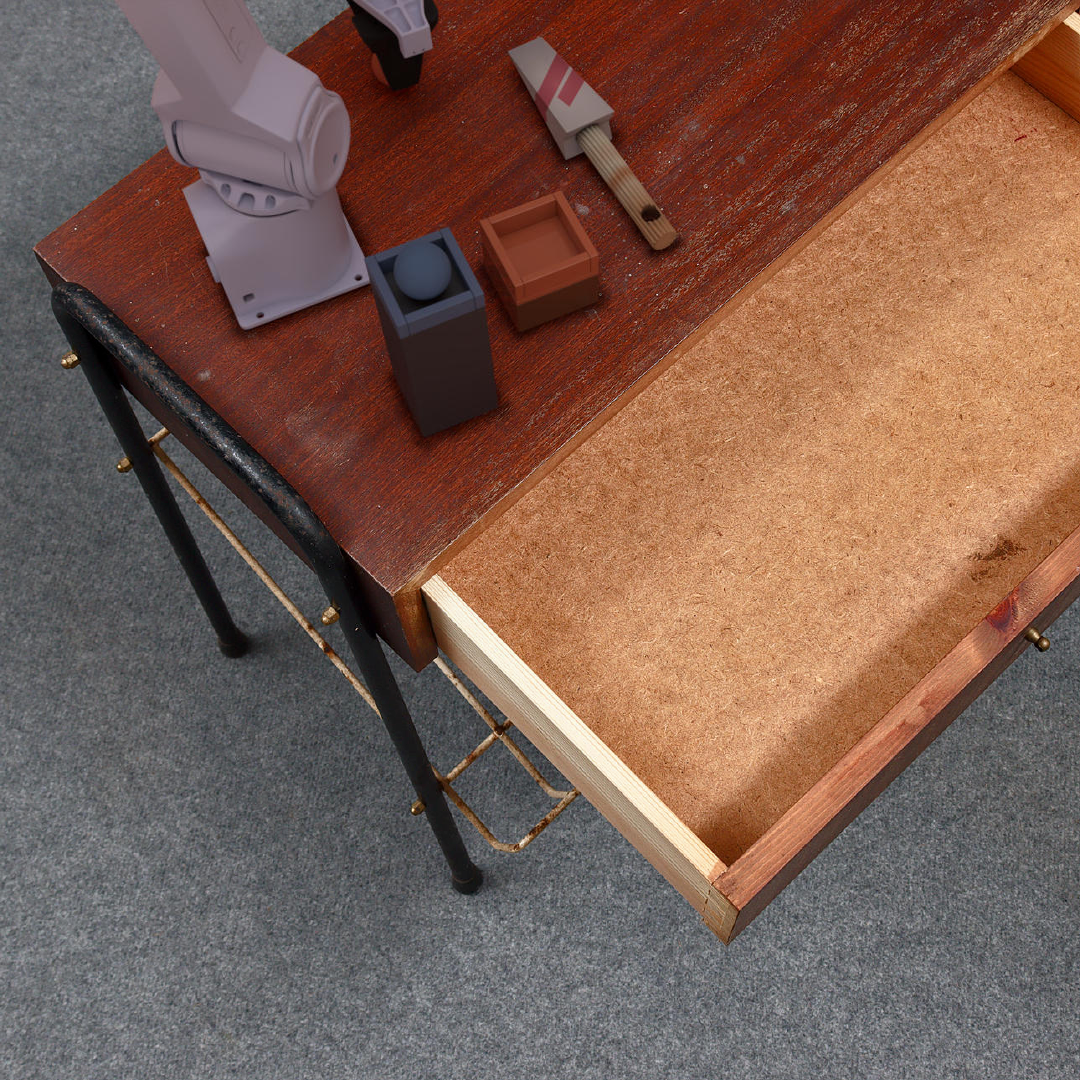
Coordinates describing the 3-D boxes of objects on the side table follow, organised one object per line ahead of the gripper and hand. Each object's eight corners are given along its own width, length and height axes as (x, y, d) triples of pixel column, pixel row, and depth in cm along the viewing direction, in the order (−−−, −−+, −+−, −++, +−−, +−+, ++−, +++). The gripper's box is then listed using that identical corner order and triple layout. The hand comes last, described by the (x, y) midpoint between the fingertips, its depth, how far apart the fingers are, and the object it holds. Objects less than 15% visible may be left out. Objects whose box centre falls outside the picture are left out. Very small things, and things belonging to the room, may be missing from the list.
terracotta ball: (384, 102, 93) (378, 68, 90) (369, 73, 94) (362, 39, 91) (425, 87, 93) (419, 54, 90) (409, 58, 94) (403, 24, 91)
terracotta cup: (519, 333, 84) (515, 287, 79) (484, 268, 86) (478, 220, 81) (598, 301, 84) (599, 254, 80) (562, 238, 87) (560, 189, 82)
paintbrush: (547, 18, 91) (690, 218, 84) (547, 46, 94) (686, 243, 87) (500, 37, 91) (640, 240, 84) (501, 66, 93) (637, 265, 86)
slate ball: (410, 319, 71) (402, 285, 68) (389, 277, 72) (381, 241, 69) (462, 299, 71) (457, 264, 69) (441, 258, 73) (435, 221, 70)
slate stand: (423, 438, 80) (397, 327, 69) (393, 375, 82) (363, 258, 71) (498, 408, 81) (484, 293, 70) (467, 346, 83) (448, 225, 72)
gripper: (467, -47, 78) (483, 115, 90) (382, -186, 83) (408, -17, 96) (359, -10, 77) (391, 148, 89) (281, -154, 82) (321, 14, 95)
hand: (394, 65), depth 92 cm, fingers open, 3 cm apart
